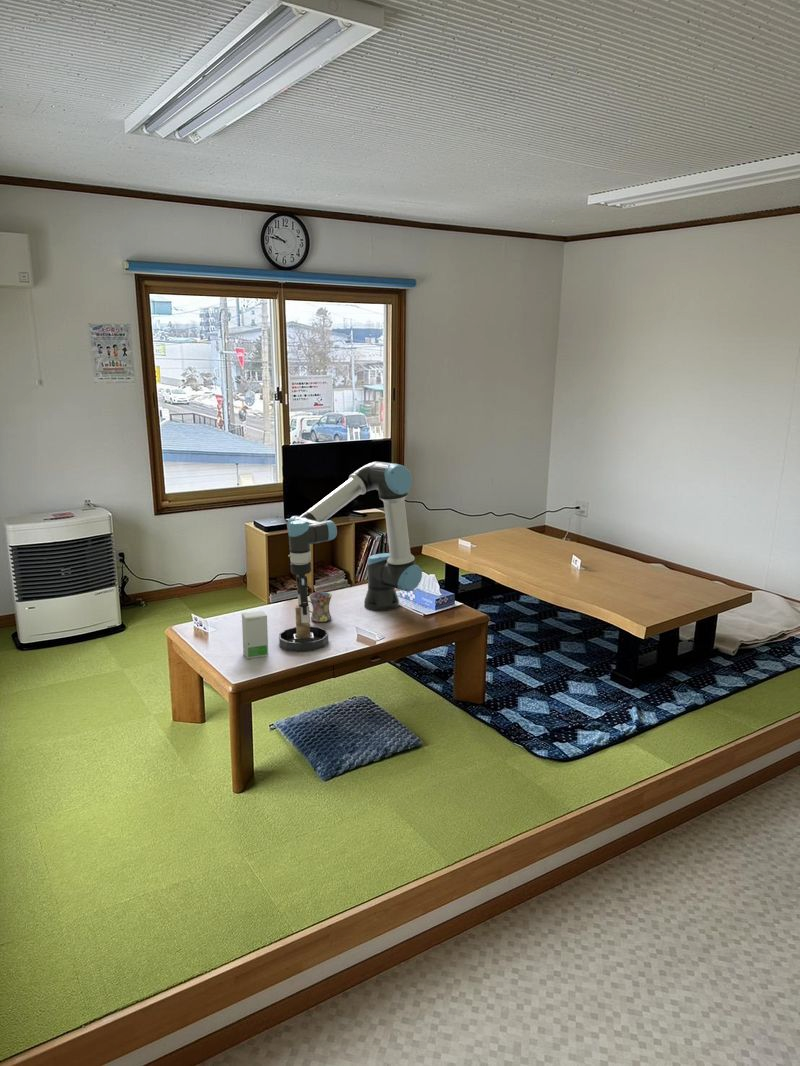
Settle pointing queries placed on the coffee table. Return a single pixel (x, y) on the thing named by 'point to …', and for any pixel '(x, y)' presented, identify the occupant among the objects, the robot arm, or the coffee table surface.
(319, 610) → the mug
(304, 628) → the brown cardboard box
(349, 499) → the robot arm
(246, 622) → the skincare box
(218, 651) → the coffee table surface
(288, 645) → the dark grey round tray
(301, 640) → the wick clip
